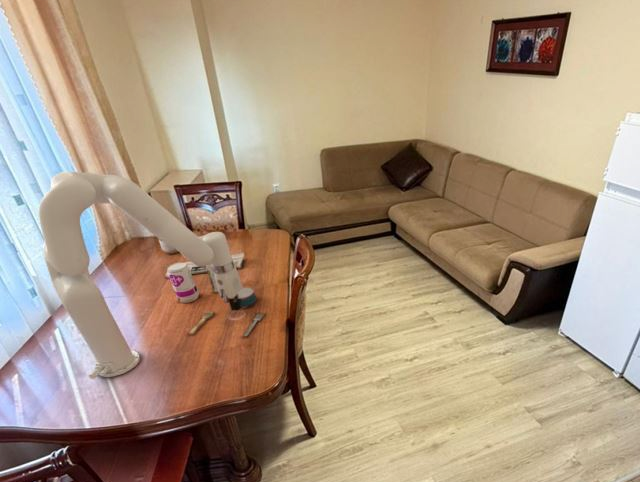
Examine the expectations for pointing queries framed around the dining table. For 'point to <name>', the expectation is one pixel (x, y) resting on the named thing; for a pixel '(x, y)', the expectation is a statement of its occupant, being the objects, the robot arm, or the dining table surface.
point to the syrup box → (212, 277)
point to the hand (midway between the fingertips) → (236, 309)
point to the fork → (253, 324)
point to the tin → (246, 297)
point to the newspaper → (202, 269)
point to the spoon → (202, 321)
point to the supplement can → (182, 282)
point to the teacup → (167, 247)
